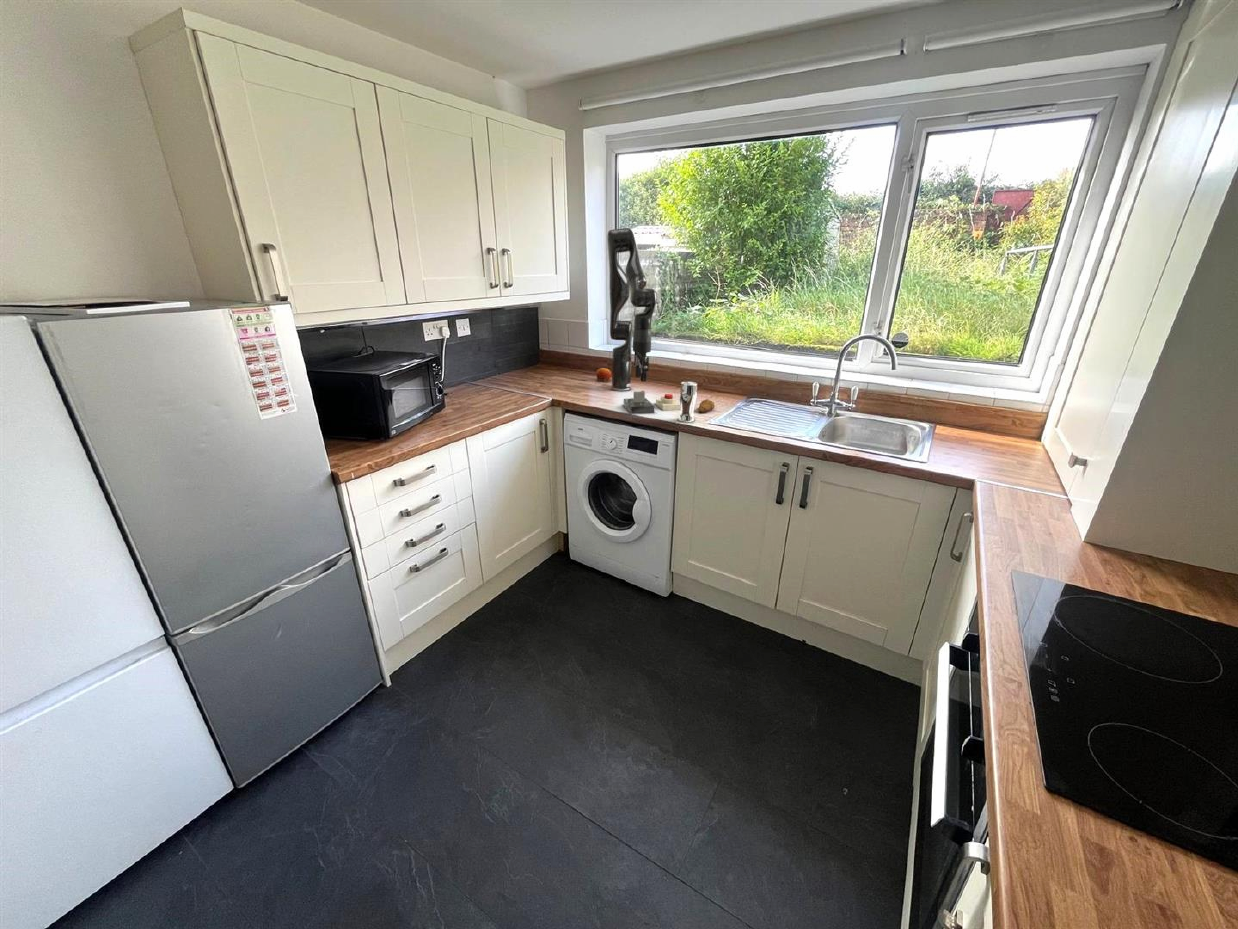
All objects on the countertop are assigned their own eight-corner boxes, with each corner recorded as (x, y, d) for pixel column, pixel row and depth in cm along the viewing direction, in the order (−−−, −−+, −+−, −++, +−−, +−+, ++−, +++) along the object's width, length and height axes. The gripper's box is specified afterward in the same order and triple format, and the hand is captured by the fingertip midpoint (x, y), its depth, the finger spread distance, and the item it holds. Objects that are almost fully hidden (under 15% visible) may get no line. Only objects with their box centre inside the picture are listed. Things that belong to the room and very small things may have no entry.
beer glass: (674, 419, 201) (676, 383, 195) (684, 416, 206) (687, 380, 200) (688, 423, 196) (691, 385, 191) (698, 420, 201) (701, 383, 196)
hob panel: (623, 405, 220) (623, 398, 219) (645, 404, 222) (645, 397, 221) (631, 413, 208) (631, 406, 206) (654, 412, 210) (654, 405, 209)
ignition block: (655, 403, 224) (656, 395, 222) (672, 403, 226) (673, 394, 224) (663, 410, 214) (663, 401, 212) (680, 409, 216) (681, 400, 214)
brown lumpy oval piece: (709, 415, 209) (710, 403, 207) (693, 412, 212) (694, 401, 210) (719, 407, 220) (720, 396, 218) (704, 405, 223) (705, 394, 221)
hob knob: (633, 402, 213) (634, 391, 211) (633, 401, 214) (633, 390, 212) (644, 402, 214) (644, 391, 212) (643, 401, 215) (643, 390, 213)
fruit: (594, 379, 261) (595, 365, 263) (596, 384, 269) (598, 370, 270) (609, 380, 260) (610, 366, 261) (611, 385, 268) (612, 371, 269)
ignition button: (663, 397, 220) (663, 393, 219) (671, 397, 220) (671, 393, 220) (665, 399, 216) (666, 395, 216) (673, 399, 217) (673, 395, 217)
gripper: (629, 337, 210) (628, 375, 216) (637, 342, 197) (636, 383, 203) (646, 337, 212) (644, 375, 218) (655, 342, 199) (654, 382, 205)
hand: (640, 379), depth 210 cm, fingers open, 8 cm apart
